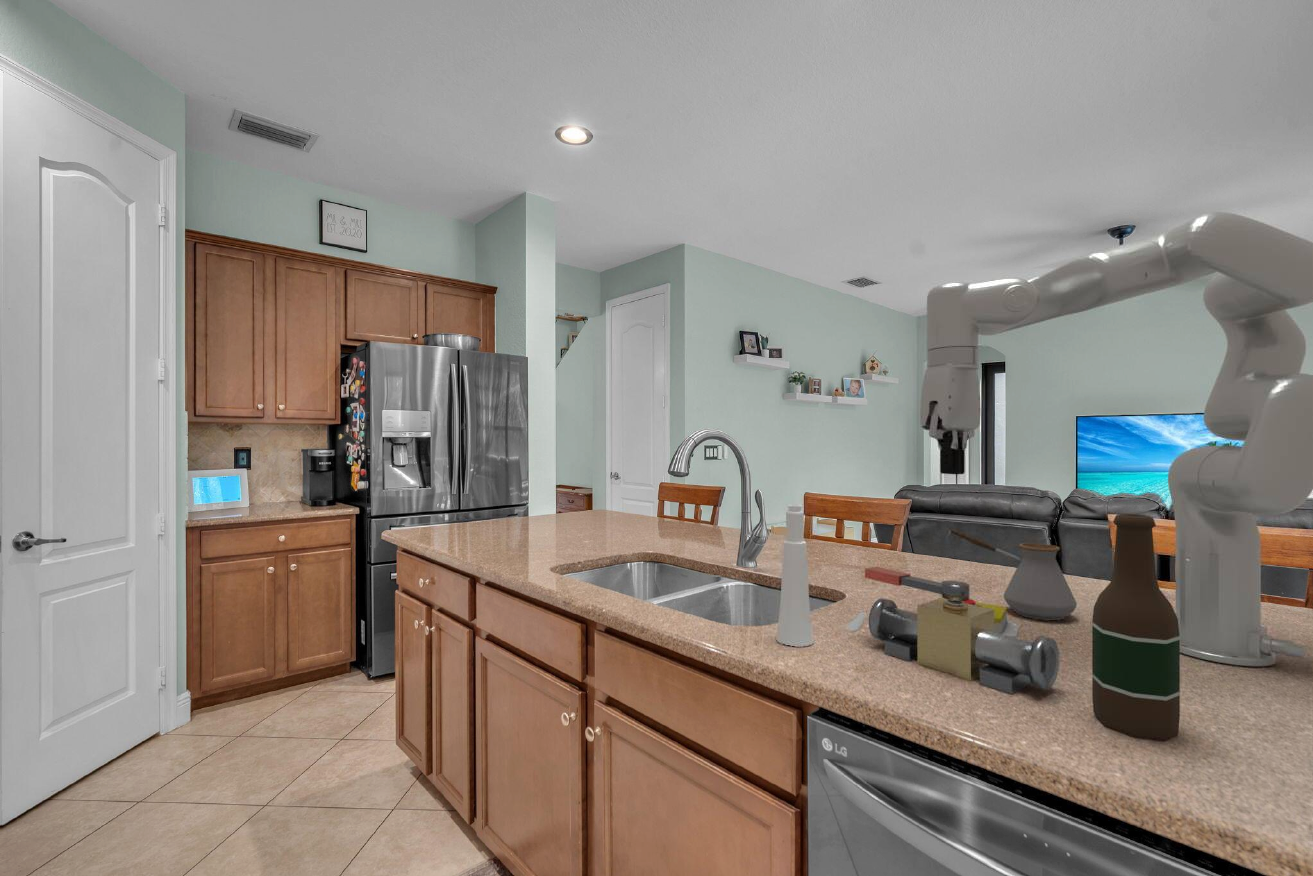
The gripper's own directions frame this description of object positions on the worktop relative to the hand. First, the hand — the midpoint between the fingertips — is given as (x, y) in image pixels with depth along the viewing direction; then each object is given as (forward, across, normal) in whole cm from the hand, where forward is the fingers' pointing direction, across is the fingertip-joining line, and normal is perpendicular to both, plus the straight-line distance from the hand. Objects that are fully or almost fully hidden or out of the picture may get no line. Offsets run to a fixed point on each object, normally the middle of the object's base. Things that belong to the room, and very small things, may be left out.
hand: (952, 473), depth 97 cm
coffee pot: (+27, -25, -4) cm, 37 cm away
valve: (+27, +10, +7) cm, 30 cm away
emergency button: (+28, -11, -4) cm, 30 cm away
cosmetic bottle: (+27, +22, -13) cm, 38 cm away
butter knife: (+28, -1, -18) cm, 33 cm away
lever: (+17, +10, 0) cm, 20 cm away
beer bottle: (+27, +10, +28) cm, 40 cm away
